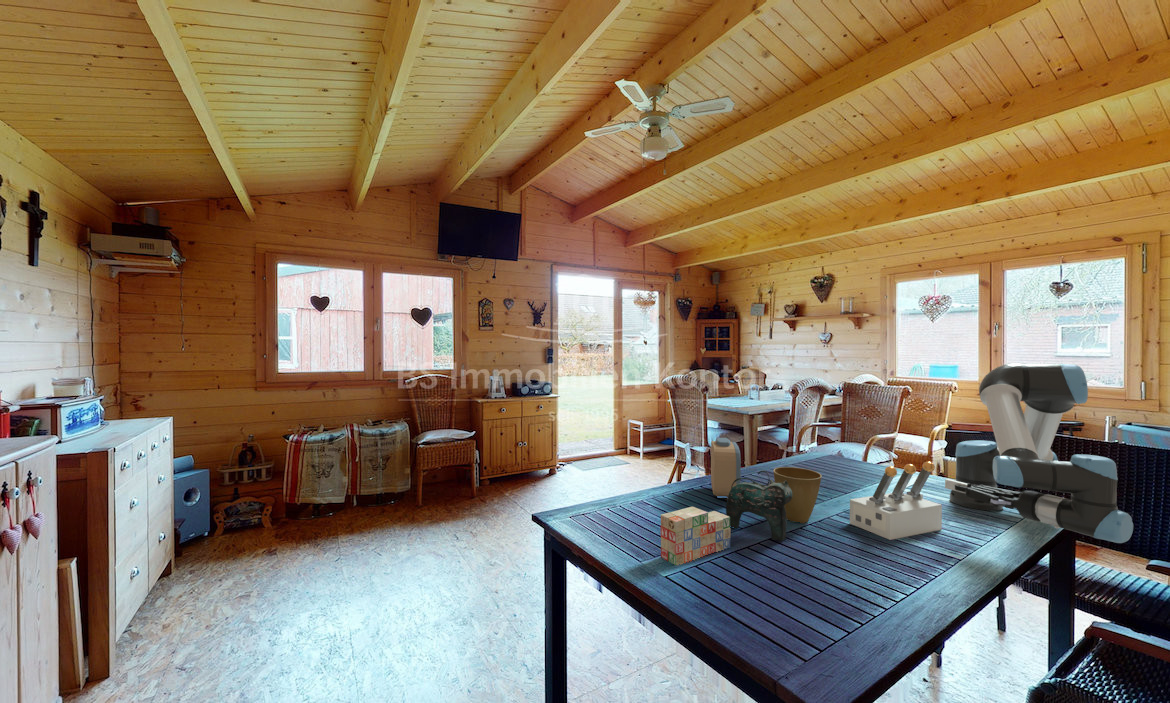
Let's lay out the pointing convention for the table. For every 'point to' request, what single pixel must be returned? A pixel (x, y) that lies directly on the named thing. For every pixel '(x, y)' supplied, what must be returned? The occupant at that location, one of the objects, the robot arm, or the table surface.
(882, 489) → the lever
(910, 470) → the lever middle
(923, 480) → the lever
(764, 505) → the ceramic cat
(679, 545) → the stack of blocks
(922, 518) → the switch box
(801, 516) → the plant pot
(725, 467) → the alarm clock
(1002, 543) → the table surface
